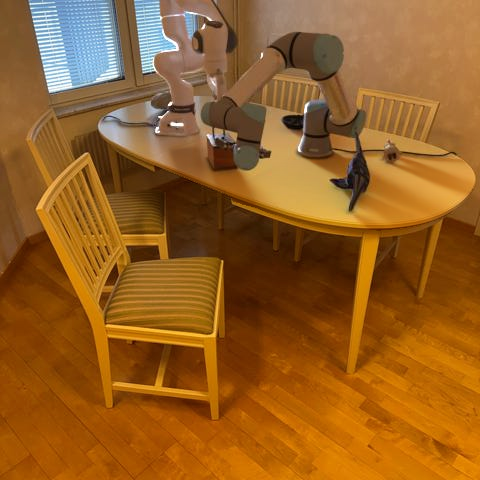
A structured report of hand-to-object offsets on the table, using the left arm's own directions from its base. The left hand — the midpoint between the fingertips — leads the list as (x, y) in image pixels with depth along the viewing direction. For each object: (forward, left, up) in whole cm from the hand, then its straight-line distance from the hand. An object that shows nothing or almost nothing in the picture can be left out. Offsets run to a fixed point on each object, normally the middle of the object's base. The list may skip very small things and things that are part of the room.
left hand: (217, 102), depth 183 cm
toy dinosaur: (+52, -30, -25) cm, 65 cm away
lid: (+1, -4, -15) cm, 16 cm away
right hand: (+12, -25, -9) cm, 29 cm away
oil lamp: (+36, +45, -25) cm, 63 cm away
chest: (+1, -4, -25) cm, 25 cm away
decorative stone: (-41, +75, -25) cm, 89 cm away
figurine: (+75, +4, -25) cm, 79 cm away
